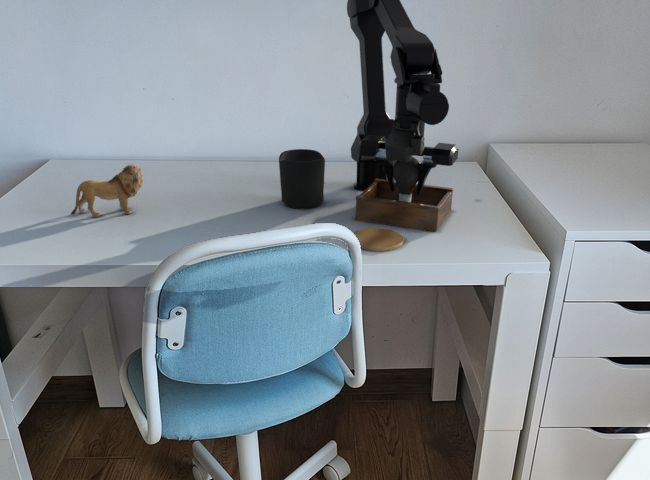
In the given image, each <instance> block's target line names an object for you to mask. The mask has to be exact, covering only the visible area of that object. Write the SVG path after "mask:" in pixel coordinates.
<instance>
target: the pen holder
mask: <svg viewBox="0 0 650 480" xmlns="http://www.w3.org/2000/svg"><path fill="white" fill-rule="evenodd" d="M278 168H279V181H280V193H281V202H282V204H283V205H284V206H285V207H288V208H291V209H294V210H295V209H297V210H309V209H315V208H318V207H320V206H321V205H322V204H323V202H324V193H325V192H324V191H325V169H326V158H325V157H324V156H323V154H322V153H321V152H320V151H318V150H315V149H308V148H307V149H306V148H297V149H288V150H285V151H282V152H281V153H280V154H279V157H278Z"/></svg>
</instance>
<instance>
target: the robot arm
mask: <svg viewBox="0 0 650 480" xmlns="http://www.w3.org/2000/svg"><path fill="white" fill-rule="evenodd" d="M346 12H347V16H348V18H349V24H350V25H349V26H350V29H351V31H352V32H353V34H354V36H356V38H357V40H358V45H359V59H360V61H359V62H360V75H361V92H362V107H363V108H362V109H363V115H362V116H361V118H360V121H359V122H358V124H357V126H356V136H355V138H354V140H353V142H352V144H351V146H350V157H351V159H352V160H353V161H355V162H356V180H355V182H356V183H355V184H354V185H353V189H355V190H363V191H364V190H366V189H367V188H368V187H369V186H370V185H371V184H372V183H373V182H374V180H375V179H384V180H388V182H389V185H390V188H391V191H392V192H394V191H395V185H396V181H395V179H394V176H393V167H394V164H395V162H396V161H402V162H405V163H406V162H409V161H411V159H412V157H414V156H415V157H416V156H417V157H422V159H423V160H422V161H421V162H419V163H420V164H419V166H420V172H419V178H418V182H417V183H416V184H417V195H419V194H420V192H421V190H422V188H423V185H425V183H426V181H427V178H428V176H429V174H430V172H431V170H432V169H434V168H436V167H437V166H446V167H451V166H453V165H454V164H455V162H456V161H457V160H458V158H459V147H458V146H457V144H456V143H455V144H454V143H447V142H438V143H437V144H436V145H435V146H425V128H426V127H425V126H426V124H427V125H430V126H435V125H439V124H440V123H442V122H443V121H444V120H445V118H447V116H448V114H449V110H450V103H449V100H448V98H447V95H446V94H444V93H443V92H442V91H441V84H442V83H443V79H442V75H443V69H442V66H441V63H440V59H439V57H438V53H437V49H436V47H435V44H434V43H433V42H432V41H431V39H430V38H429V36H428V35H427V34H425V33H423V32H421V31H420V30H418V29H416V28H415V26H414V24H413V22H412V20H411V19H410V16H409V14H408V13H407V12H406V9H405V7H404V5H403V3H402V2H401V0H347V3H346ZM384 34H386V36H387V38H388V39H389V42H390V45H391V46H392V47H391V52H390V56H389V57H390V63H391V66H392V69H393V72H394V74H395V78H394V79H393V81H394V83H395V84H396V92H395V95H396V96H395V113H394V119H393V118H391V117H390V116H389V114H388V112H387V109H386V92H385V71H384V54H383V36H384Z"/></svg>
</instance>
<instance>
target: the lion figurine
mask: <svg viewBox="0 0 650 480" xmlns="http://www.w3.org/2000/svg"><path fill="white" fill-rule="evenodd" d="M143 183H144V178H143V174H142V168H141V167H140V166H137V165H135V164H127V165H126V166H124V167H123V169H122V170H121V171H120V172H119V173H117V174H115V175H114V176H113V177H112V178H111V179H110V180H107V181H98V180H93V179H89V180H88V179H87V180H84V181H82V182H81V183H80V184H79V185H78V187H77V189H76V195H75V205H74V208H73V210H71V212H70V216H72V215H76V214H77V211H78V212H79V213H81V214H83V213H86V212H87V210H88V212H89V213H90V214H91V216H92V217H94V218H98V217H100V213H99V212H96V211H95V210H94V204H95V199H96V197H97V198H99V199H102V200H106V201H113V200H118V203H119V208H120V210H122V211H123V212H124V213H125V214H126V215H131V214H132V210H130V209H129V199H130V198H134V197H136V195H137V194H138V191H139V190H140V189H141V188H142V186H143ZM81 193H82V195H81ZM86 203H87V209H86V208H83V207H84V205H85V204H86Z"/></svg>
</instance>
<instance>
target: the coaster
mask: <svg viewBox="0 0 650 480" xmlns="http://www.w3.org/2000/svg"><path fill="white" fill-rule="evenodd" d="M352 233H354V234H355V235H356V237H357V238H358V240H359V242H360V245H361V248H360V249H361V250H365V251H371V252H372V251H373V252H384V251H392V250H395V249H399V248H400V247H401V246H403V244H404V240H405V239H404V236H403V235H402V234H401V233H400V232H398V231H396V230H392V229H389V228H382V227H367V228H362V229H358V230H355V231H353V232H352Z"/></svg>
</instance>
